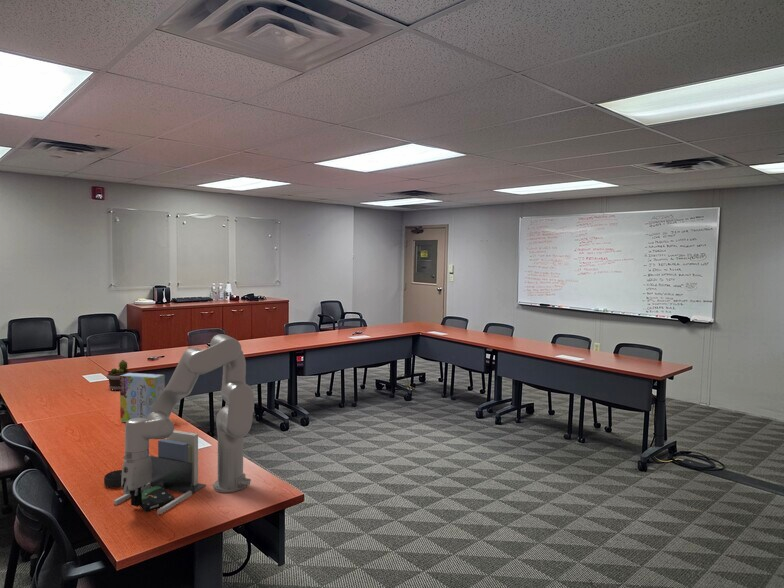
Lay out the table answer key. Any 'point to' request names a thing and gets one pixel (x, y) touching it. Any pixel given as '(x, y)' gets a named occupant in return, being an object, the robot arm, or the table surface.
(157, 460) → the bookend
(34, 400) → the table surface
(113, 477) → the smart speaker
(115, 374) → the flowerpot
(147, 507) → the disk drive
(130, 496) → the rails
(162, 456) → the book row
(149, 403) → the snack box
